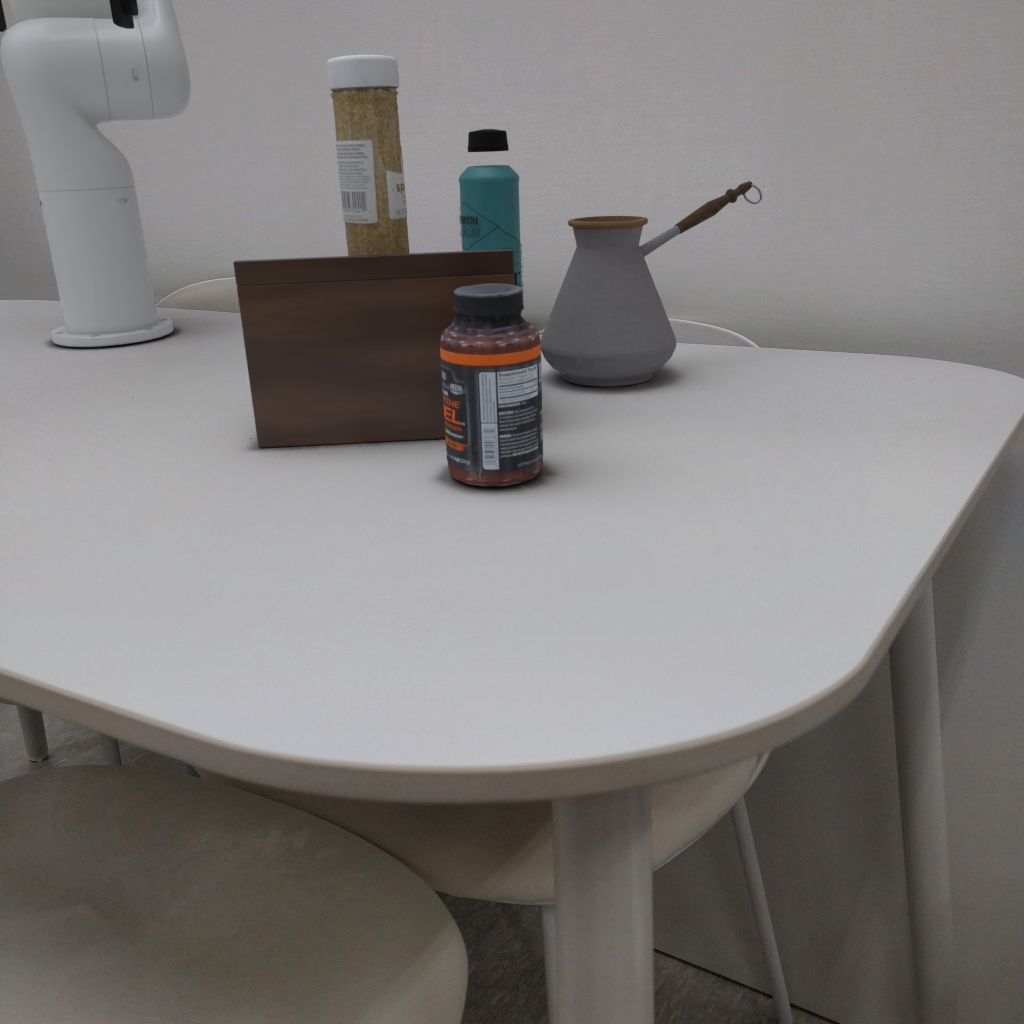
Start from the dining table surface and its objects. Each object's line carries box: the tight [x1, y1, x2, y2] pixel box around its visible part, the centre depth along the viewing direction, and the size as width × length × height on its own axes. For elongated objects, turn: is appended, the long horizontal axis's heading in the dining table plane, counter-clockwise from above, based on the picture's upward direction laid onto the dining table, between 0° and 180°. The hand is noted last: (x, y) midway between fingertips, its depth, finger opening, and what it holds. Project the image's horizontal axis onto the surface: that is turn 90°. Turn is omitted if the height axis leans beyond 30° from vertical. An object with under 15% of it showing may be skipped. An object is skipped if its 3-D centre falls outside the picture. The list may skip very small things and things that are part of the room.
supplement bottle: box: [440, 284, 544, 488], centre depth 58 cm, size 6×6×11 cm
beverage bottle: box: [458, 128, 525, 313], centre depth 101 cm, size 6×7×20 cm
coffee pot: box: [540, 180, 763, 387], centre depth 82 cm, size 21×12×15 cm, turn 119°
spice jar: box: [326, 54, 410, 256], centre depth 65 cm, size 5×5×13 cm
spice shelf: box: [232, 249, 514, 448], centre depth 72 cm, size 16×18×12 cm
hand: (59, 28), depth 74 cm, fingers open, 9 cm apart
